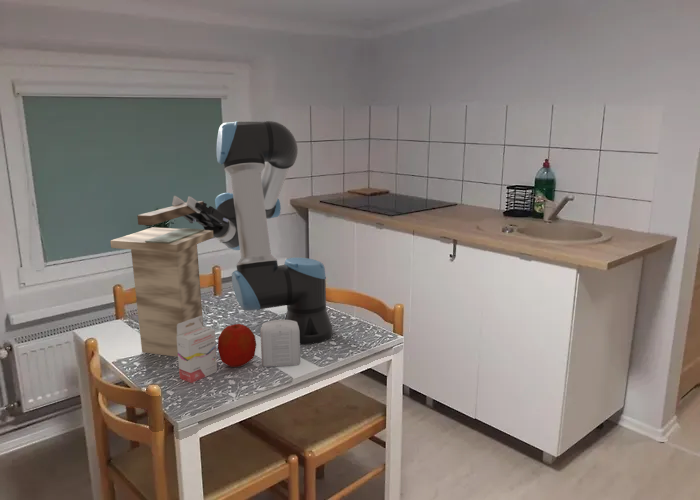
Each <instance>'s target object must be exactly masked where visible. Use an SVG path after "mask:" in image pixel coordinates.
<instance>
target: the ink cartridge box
mask: <svg viewBox="0 0 700 500" xmlns="http://www.w3.org/2000/svg"><path fill="white" fill-rule="evenodd" d="M203 317H204V316H203ZM203 317H202V316H199V317H196V318H193V319H190V320H187V321H184V322H182V323H179V324H177V336H176V337H177V350H178V357H177V360H178V361H177V362H178V370H179V371H178V372H179V379H181V380H183V381H185V382H188V383H190V384H193V383H195V382H197V381H200V380H202V379H204V378H206V377H208V376H211V375H213V374H215V373H217V372H218V363H217V345H216V332H215V331H216V330H215V329H214V328H210V327H208V326H204V318H203ZM189 323H194V325H192V326H189V327H186V325H188V324H189Z"/></svg>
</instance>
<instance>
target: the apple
mask: <svg viewBox="0 0 700 500" xmlns="http://www.w3.org/2000/svg"><path fill="white" fill-rule="evenodd" d="M256 349H257V340H256V335H255V334H254V332H253V331H252V330H251V328H250V327H249V326H246V325H244V324H241V323H237V324H236V323H234V324H230V325H227V326H226V327H224V329H222V330H221V332H220V334H219V336H218V338H217V351H218V353H219V357H220V360H221V362H222V363H223V364H225V366H228V367H229V368H239V367H243V366H245V365H246V364H248V363H249V362H251V361H252V360H253V359H254V358H255V354H256Z"/></svg>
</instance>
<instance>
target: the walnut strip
mask: <svg viewBox="0 0 700 500" xmlns="http://www.w3.org/2000/svg"><path fill="white" fill-rule="evenodd" d="M197 201H198V202H199V203H200V204H202V205H203V203H205V201H204V200H201V201H200V200H197ZM186 204H187V201H186V203H182V204H178V205H175V206H173V205H171V206H168V207H163V208H160V209H157V210H153V211H149V212H145V213H144V212H143V213H140V214H138V215H137V225H138V226H154V225H157V224H161V223H164V222H167V221H170V220H174V219H177V218H180V217H182V216H184V215H188V214H191V213H194V212H196V211H194V210H193V209H191V208H190V207H188V206H187V205H186Z"/></svg>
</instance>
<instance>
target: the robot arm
mask: <svg viewBox="0 0 700 500" xmlns="http://www.w3.org/2000/svg"><path fill="white" fill-rule="evenodd" d="M217 131H218V133H217V137H216V158H217V159H216V161H217V163H218V164H220V165H223V168H224V172H226V173H227V174H228V175H229V176H230V181H231V189H232V190H231V191H232V192H231V193H230V192H222V193H220V194H218V195H217V196H216V197H215V199H214V202H215V203H214V204H215V207H214V206H210V205H209V206H207V205H208V204H207V203H206V202H204V203H203V205H202V204H200V203H199V202H198V201H199V200H196V199H195V198H193V197H192V196H189V195H188V196H187V200H186V202H187V204H186V205H187V206H188V207H190V208H191V209H193V210H194V211H196V212H194V213H191V214H188V215H184V216H181V217H183V218H184V219H185V220H187V221H188V223H189V224H194V223H195V222H196V223H198V225H200V226H202V227H203V229H204V230H210V231H213V237H214V239H216V240H217V241H219V243H222V244H223V245H225V246H226V247H227V248H229V249H232V250H233V251H239V254H240V259H239V261H238V262H237V263H236V265H235V266H236V270H234V271H233V272H232V273H231V282H232V288H233V292H234V295H235V298H236V301H237V302H238V305H239V307H240V308H241V309H242V310H244V311H256V310H257V311H260V310H265V309H271V308H279V307H284V306H286V313H285V317H284V320H292V321H296V322H297V324H298V326H299V331H300V345H309V344H310V345H311V344H312V345H313V344H318V343H321V342H325V341H327V340H328V339H330V338H331V337H332V336H333V325H332V322H331V320H330V317H329V313H328V311H327V295H326V294H327V290H326V287H327V286H326V285H327V283H326V282H327V281H326V279H327V276H326V269H325V268H326V267H325V264H323V263H322V261H319V260H316V259H313V258H308V257H289V258H286V259H285V261H284V265H279V263H278V259H277V258H276V257H274V256H273V255H272V252H271V244H270V238H269V237H270V236H269V228H268V221H267V219H274V218H278V217H279V216H280V214H281V210H282V208H281V201H280V199H279V196H280V193H281V191H282V188H283V186H284V184H285V180H286V177H287V175H288V173H289V170H290V169H291V168H292V167H293V166H294V165H295V163H296V161H297V158H298V157H297V156H298V144H297V140H296V138H295V136H294V135H293V133H292V132H291V130H290V129H289V128H288V127H287V126H285V125H283V124H282V123H279V122H277V121H273V120H272V121H271V120H268V121H267V120H266V121H229V122H228V121H227V122H223V123H221V125H220V126H219V128H218V130H217ZM186 202H185V201H184V200H183V199H181V198H180V197H178V196H177V195H173V198H172V203H171V206H175V205H178V204H182V203H186Z"/></svg>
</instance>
